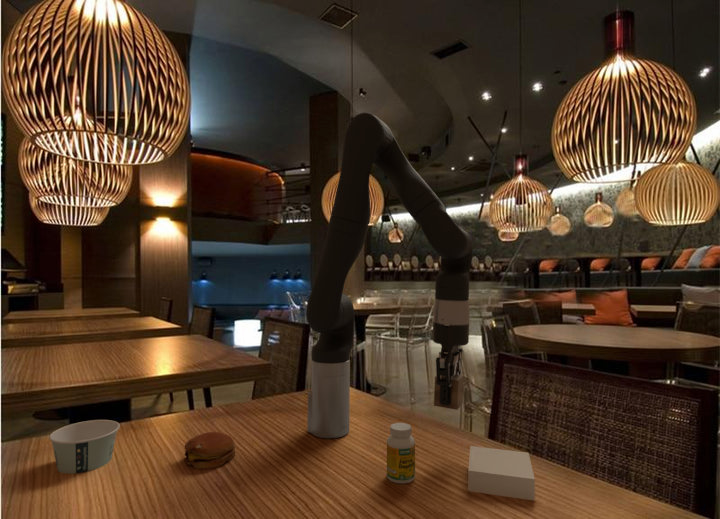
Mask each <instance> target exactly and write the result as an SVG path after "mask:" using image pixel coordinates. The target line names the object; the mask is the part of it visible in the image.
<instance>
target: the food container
mask: <svg viewBox="0 0 720 519" xmlns="http://www.w3.org/2000/svg"><path fill="white" fill-rule="evenodd" d="M120 427H121V425H120V423H119V422H118V421H115V420H113V419H112V420H109V419H94V420H93V419H91V420H86V421H79V422H76V423H70V424H68V425H65V426H62V427H60V428H58V429H56V430H53V432H51V433H50V434H49V436H48V439H49V441H50V442H51V443H52V449H53V454H54V459H55V464H56V470H57V472H59V473H63V474H71V475H72V474H81V473H85V472H86V473H88V472H90V471H94V470H97V469H99V468H102V467H104V466H105V465H107V464H109V462H110V461H112V459H113V458H112V457H113V453H114V449H115V442H116V438H117V432H118V431H119V429H120Z"/></svg>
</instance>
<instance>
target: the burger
mask: <svg viewBox="0 0 720 519" xmlns="http://www.w3.org/2000/svg"><path fill="white" fill-rule="evenodd" d="M235 455H236V446H235V441H234V439H233V438H232V437H231V436H230V435H228V434H227V433H224V432H220V431H209V432H204V433H202V434H198V435H196V436H194V437H192V438H189V440H187V441H186V443H185V444H184V456H185V458H184V459H183V460H184V462H186V463H187V465H189V466H193V468H194V469H197V470H210V469H214V468H218V467H220V466H222V465H224V464H226V462H229V461H230V460H232V459H233V458H234V457H235Z"/></svg>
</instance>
